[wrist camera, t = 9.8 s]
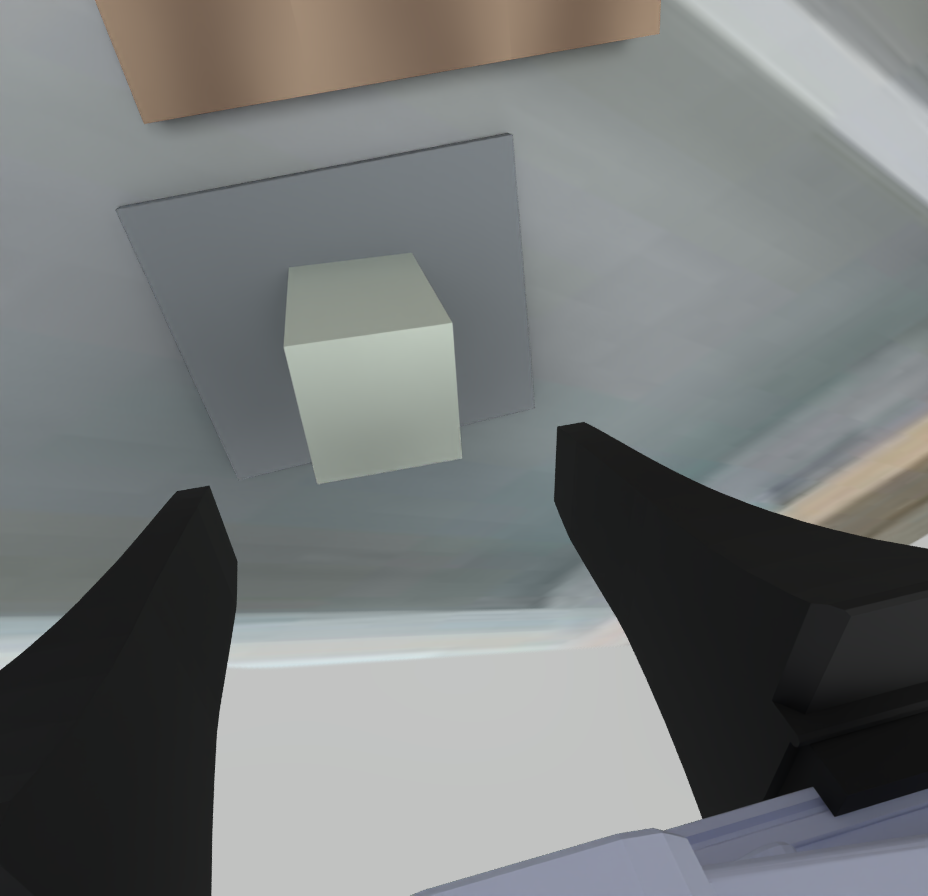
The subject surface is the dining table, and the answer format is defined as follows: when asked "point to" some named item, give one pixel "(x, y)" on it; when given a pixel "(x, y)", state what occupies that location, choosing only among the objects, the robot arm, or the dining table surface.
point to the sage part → (371, 366)
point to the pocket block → (337, 43)
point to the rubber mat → (332, 240)
